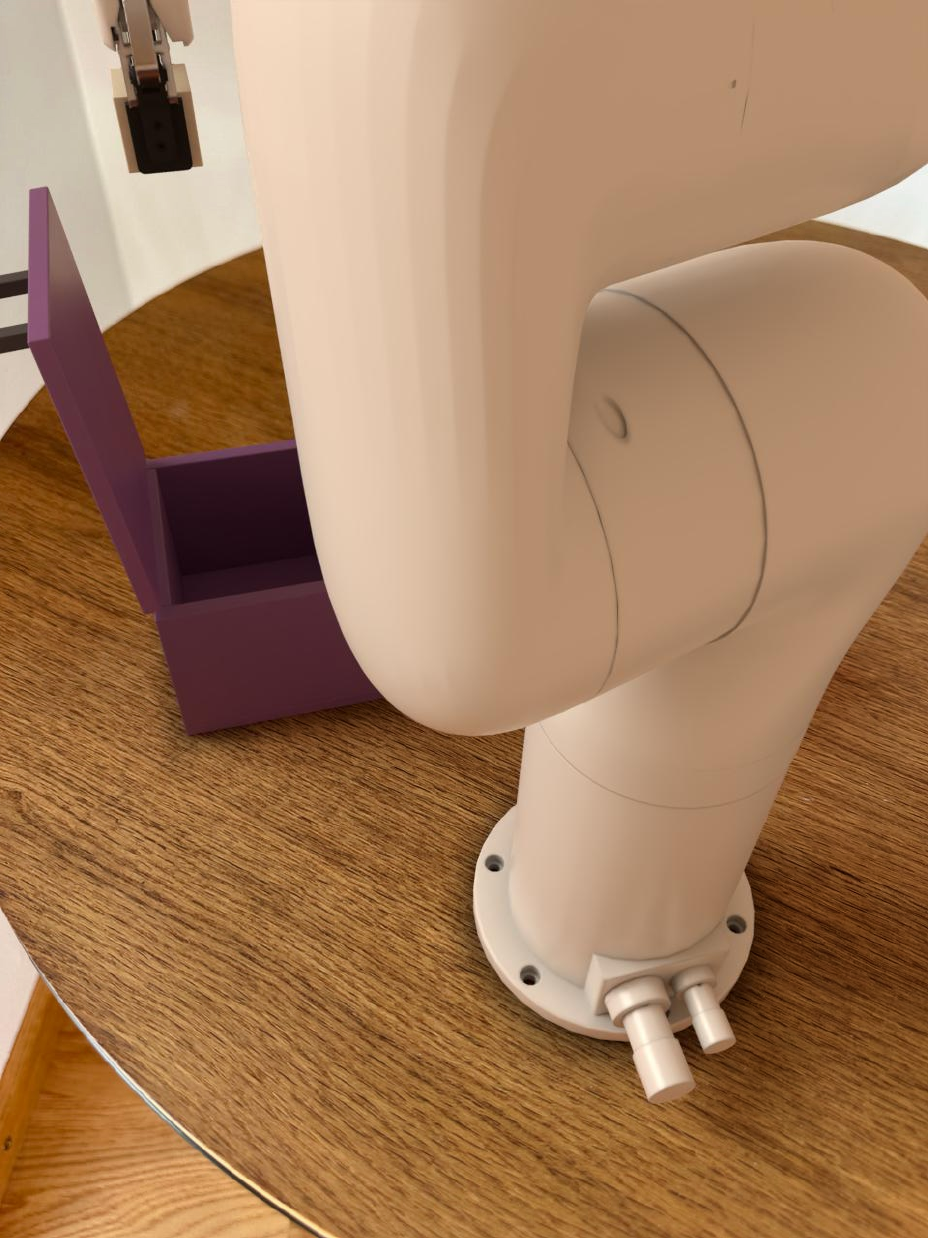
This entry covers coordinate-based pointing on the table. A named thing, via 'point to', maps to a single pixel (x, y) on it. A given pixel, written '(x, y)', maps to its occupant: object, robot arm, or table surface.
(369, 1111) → the table surface
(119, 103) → the block
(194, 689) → the box
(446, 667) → the robot arm
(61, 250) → the lid
